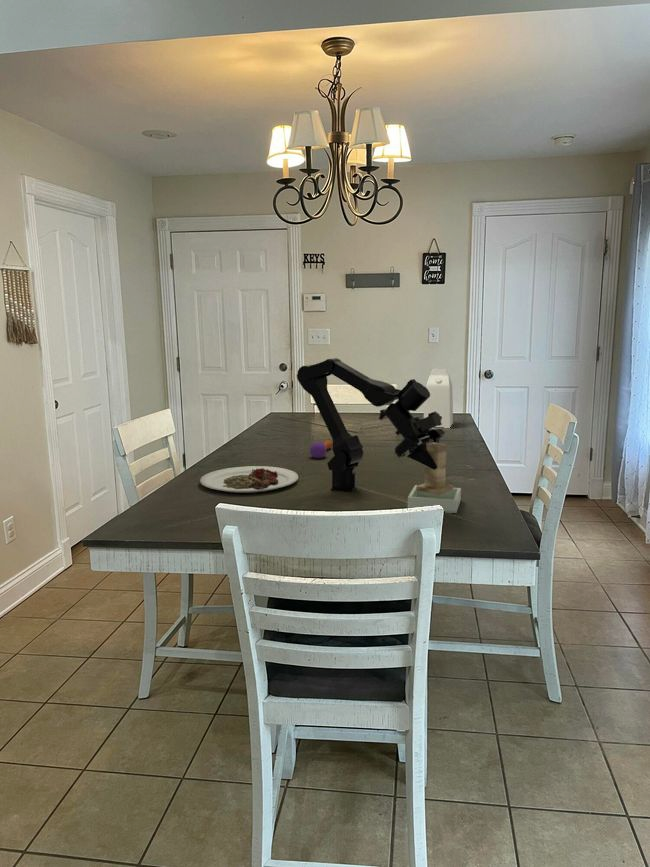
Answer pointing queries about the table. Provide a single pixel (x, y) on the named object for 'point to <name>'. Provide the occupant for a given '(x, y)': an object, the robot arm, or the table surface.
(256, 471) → the plated food
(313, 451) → the purple and orange maraca
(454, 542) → the table surface
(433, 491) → the wooden block tower
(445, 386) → the milk
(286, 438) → the table surface
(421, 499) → the box
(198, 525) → the table surface
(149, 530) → the table surface
